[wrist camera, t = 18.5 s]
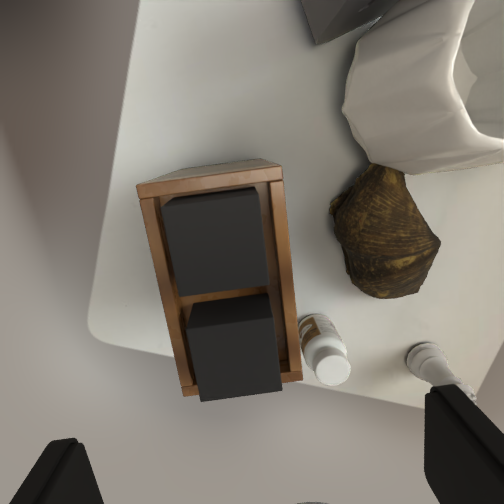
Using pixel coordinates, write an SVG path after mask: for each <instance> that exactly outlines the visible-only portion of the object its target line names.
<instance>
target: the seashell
mask: <svg viewBox="0 0 504 504" xmlns="http://www.w3.org/2000/svg"><path fill="white" fill-rule="evenodd" d="M404 175H405V174H404V173H403V172H401V171H399V170H396V169H393V168H390V167H386V166H382V165H379V164H375V163H372V164H370V166H369V168H368V169H367V170H366V171H365V172H364V173H362V174H361V175H360V177H358V178H356V182H355V185H353V186H352V187H349V189H348V190H346V191H345V192H343V193H342V194H341V195H340V196H339V197H338V198H337V199H335V200H334V201H333V202H332V203H331V204H330V205H331V208H330V214H332V215H333V217H334V222H335V227H334V232H335V235H336V238H337V240H338V242H339V243H340V244H341V246H342V249H343V252H344V256H345V263H346V268H347V271H346V272H347V274H348V275H350V278H351V281H352V283H353V284H354V285H356V286H357V287H358V288H359V289H360V290H361V291H363V292H364V293H366V294H368V295H369V296H372V297H375V298H379V299H391V298H398V297H403V296H406V295H410V294H414V293H418V291H419V289H420V286H421V285H423V282H424V280H425V279H426V277H427V274H428V271H429V269H430V267H431V266H432V263H433V260H434V258H435V256H436V254H437V253H438V249H439V247H440V245H441V241H440V240H439V238H438V237H437V236H436V235H435V234H434V233H433V232H432V231H431V229H430V228H429V226H428V224H427V222H426V221H425V220H424V218H423V216H422V214H421V213H420V212H419V210H418V209H417V206H416V204H415V202H414V201H413V199H412V197H411V195H410V193H409V191H408V190H407V188H406V183H405V177H404Z"/></svg>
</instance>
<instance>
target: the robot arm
mask: <svg viewBox="0 0 504 504" xmlns="http://www.w3.org/2000/svg"><path fill="white" fill-rule="evenodd" d="M424 446H425V447H424V472H425V476H426V479H427V481H428V484H429V486H430V487H431V489H432V491H433V493H434V494H435V496H436V498H437V499H438V501H439V503H440V504H504V434H503V433H502V432H501V431H500V430H499V429H498V428H497V427H496V426H495V425H494V423H493V422H492V421H491V420H490V419H489V418H488V417H487V416H486V415H485V414H484V413H483V412H482V411H481V410H480V409H479V408H478V407H477V406H476V405H475V404H474V402H473V401H472V400H471V399H470V398H469V397H468V396H467V395H466V394H465V393H464V392H463V391H462V390H461V389H460V388H459V387H458V386H457V385H455V384H447V385H440V386H434V387H432V388H431V389H430V393H427V394H426V395H425V439H424ZM9 504H104V502H103V500H102V497H101V494H100V491H99V488H98V485H97V482H96V479H95V476H94V473H93V471H92V467H91V464H90V461H89V459H88V456H87V453H86V450H85V447H84V445H83V444H82V443H78V441H77V439H75V438H68V439H61V440H54V441H51V442H50V443H49V444H48V445H47V446H46V448H45V449H44V451H43V453H42V454H41V456H40V457H39V459H38V460H37V462H36V463H35V465H34V467H33V468H32V469H31V471H30V472H29V474H28V476H27V477H26V479H25V480H24V482H23V483H22V485H21V486H20V488H19V489H18V491H17V493H16V494H15V495H14V497H13V499H12V500H11V502H10V503H9Z"/></svg>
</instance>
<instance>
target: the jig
mask: <svg viewBox="0 0 504 504" xmlns="http://www.w3.org/2000/svg"><path fill="white" fill-rule="evenodd" d="M249 187H255V188H256V190H257V192H258V194H259V199H260V207H261V215H262V223H263V232H264V240H265V248H266V257H267V265H268V273H269V281H270V284H269V285H265V286H258V287H251V288H243V289H236V290H229V291H221V292H214V293H206V294H199V295H192V296H184V297H179V295H178V290H177V285H176V280H175V275H174V270H173V266H172V261H171V256H170V251H169V246H168V242H167V237H166V232H165V227H164V222H163V218H162V213H161V207H162V206H163V205H164V204H166V203H167V202H168V201H169V200H171V199H172V198H174V197H181V196H189V195H196V194H204V193H211V192H219V191H226V190H234V189H241V188H249ZM136 188H137V193H138V197H139V199H140V200H139V201H140V206H141V210H142V215H143V219H144V223H145V228H146V232H147V237H148V241H149V246H150V250H151V255H152V259H153V263H154V268H155V272H156V277H157V281H158V286H159V290H160V295H161V299H162V304H163V308H164V312H165V317H166V321H167V326H168V330H169V335H170V339H171V344H172V348H173V352H174V357H175V361H176V366H177V370H178V375H179V379H180V384H181V386H182V387H181V388H182V392H183V396H184V397H185V396H193V395H199V391H198V386H197V382H196V377H195V372H194V367H193V362H192V357H191V353H190V348H189V343H188V338H187V333H186V327H187V324H188V320H189V317H190V313H191V309H192V306H193V303H197V302H204V301H212V300H219V299H226V298H234V297H241V296H248V295H256V294H263V293H268V294H269V299H270V303H271V308H272V312H273V316H274V324H275V332H276V340H277V348H278V357H279V365H280V373H281V381H282V383H286V382H294V381H301V380H303V374H302V364H301V354H300V343H299V333H298V323H297V313H296V303H295V293H294V283H293V273H292V262H291V252H290V242H289V232H288V222H287V212H286V202H285V192H284V182H283V171H282V166H281V165H278V164H275V163H272V162H269V161H266V160H263V159H253V160H245V161H238V162H230V163H223V164H215V165H208V166H200V167H193V168H185V169H180V170H177V171H174V172H172V173H169V174H166V175H163V176H160V177H157V178H155V179H152V180H149V181H146V182H143V183H140V184H137V185H136Z"/></svg>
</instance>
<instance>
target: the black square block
mask: <svg viewBox="0 0 504 504" xmlns="http://www.w3.org/2000/svg"><path fill="white" fill-rule="evenodd" d="M186 333H187V338H188V343H189V348H190V353H191V357H192V362H193V367H194V372H195V377H196V382H197V386H198V391H199V396H200V400H201V402H204V401H212V400H218V399H226V398H233V397H240V396H248V395H255V394H262V393H270V392H277V391H282V381H281V373H280V365H279V357H278V348H277V340H276V332H275V324H274V316H273V312H272V308H271V303H270V299H269V294H268V293H263V294H256V295H248V296H241V297H234V298H226V299H219V300H212V301H204V302H197V303H193V306H192V309H191V313H190V317H189V320H188V324H187V327H186Z"/></svg>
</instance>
